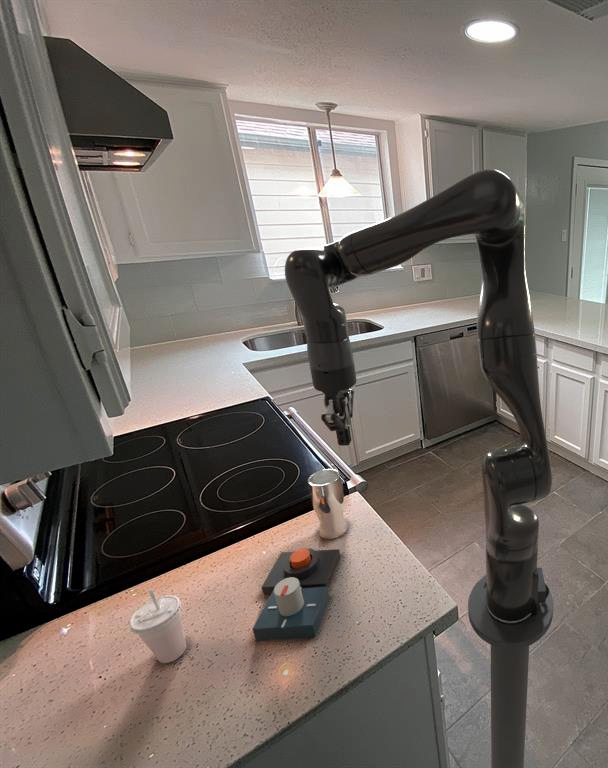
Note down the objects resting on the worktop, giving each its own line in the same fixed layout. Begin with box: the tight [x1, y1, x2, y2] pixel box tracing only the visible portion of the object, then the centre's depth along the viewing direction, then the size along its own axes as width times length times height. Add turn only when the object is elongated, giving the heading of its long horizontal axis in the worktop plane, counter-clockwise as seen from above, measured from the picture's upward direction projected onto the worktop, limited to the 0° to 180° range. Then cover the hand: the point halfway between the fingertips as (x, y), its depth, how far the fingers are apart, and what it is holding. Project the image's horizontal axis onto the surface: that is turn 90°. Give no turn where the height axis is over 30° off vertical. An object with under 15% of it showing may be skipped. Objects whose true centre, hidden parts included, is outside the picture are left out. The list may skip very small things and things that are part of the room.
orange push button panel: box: [261, 547, 342, 596], centre depth 84 cm, size 12×9×4 cm
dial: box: [274, 577, 304, 616], centre depth 73 cm, size 4×4×5 cm
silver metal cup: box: [307, 468, 349, 540], centre depth 94 cm, size 7×7×15 cm
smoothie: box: [128, 587, 187, 664], centre depth 67 cm, size 6×6×14 cm
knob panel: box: [252, 587, 331, 642], centre depth 75 cm, size 10×8×3 cm
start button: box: [290, 548, 311, 569], centre depth 83 cm, size 4×4×2 cm
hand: (345, 443), depth 81 cm, fingers closed
